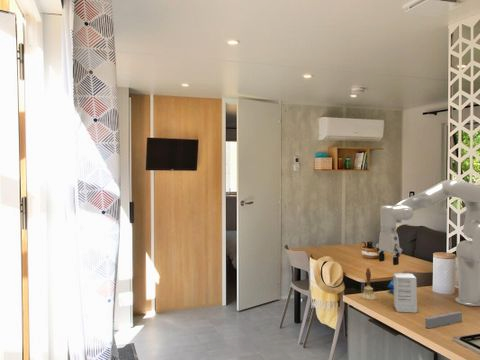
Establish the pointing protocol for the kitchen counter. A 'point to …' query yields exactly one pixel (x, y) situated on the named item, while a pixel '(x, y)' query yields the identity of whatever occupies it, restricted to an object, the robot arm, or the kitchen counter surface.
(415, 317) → the kitchen counter surface
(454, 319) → the gray rectangular bar
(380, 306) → the kitchen counter surface
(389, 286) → the crystal
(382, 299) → the kitchen counter surface
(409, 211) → the robot arm
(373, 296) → the hand bell
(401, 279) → the supplement box
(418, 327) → the kitchen counter surface
